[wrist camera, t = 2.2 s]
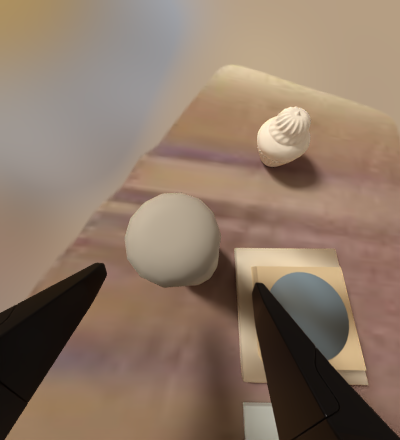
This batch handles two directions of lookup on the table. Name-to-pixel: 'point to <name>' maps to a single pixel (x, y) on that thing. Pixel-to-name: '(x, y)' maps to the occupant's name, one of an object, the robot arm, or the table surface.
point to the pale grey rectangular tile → (259, 421)
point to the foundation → (299, 306)
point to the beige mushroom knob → (173, 241)
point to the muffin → (284, 137)
